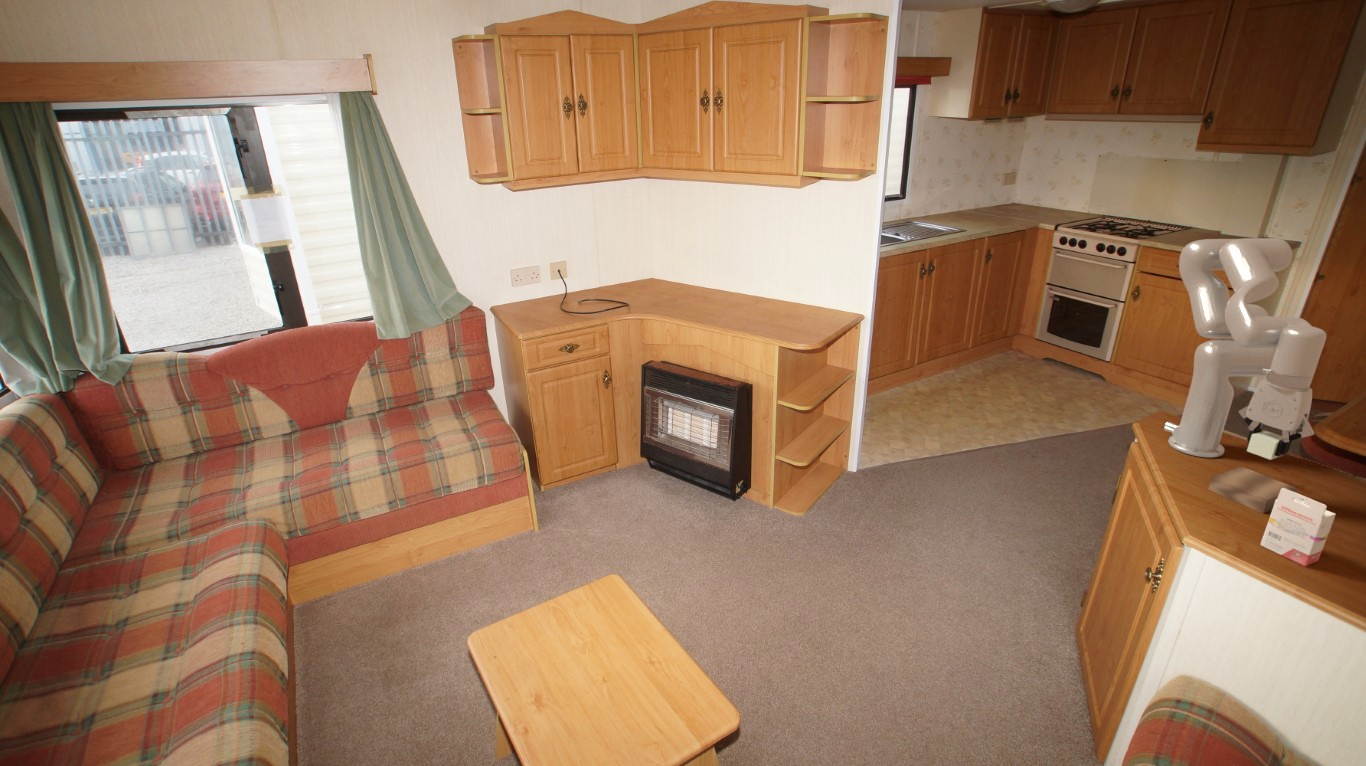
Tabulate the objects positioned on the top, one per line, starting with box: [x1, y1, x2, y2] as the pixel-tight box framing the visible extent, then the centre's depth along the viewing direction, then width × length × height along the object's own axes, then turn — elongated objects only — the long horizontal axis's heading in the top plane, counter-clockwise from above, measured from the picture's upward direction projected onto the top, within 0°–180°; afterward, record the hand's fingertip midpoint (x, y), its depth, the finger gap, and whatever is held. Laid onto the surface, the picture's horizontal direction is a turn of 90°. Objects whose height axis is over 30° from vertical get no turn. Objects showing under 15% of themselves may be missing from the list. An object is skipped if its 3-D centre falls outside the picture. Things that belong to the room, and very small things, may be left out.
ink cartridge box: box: [1260, 488, 1336, 567], centre depth 139 cm, size 9×5×15 cm, turn 22°
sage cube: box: [1246, 430, 1284, 460], centre depth 157 cm, size 5×5×4 cm
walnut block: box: [1207, 466, 1298, 514], centre depth 162 cm, size 12×12×4 cm
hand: (1266, 449), depth 158 cm, fingers closed on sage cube, 4 cm apart
